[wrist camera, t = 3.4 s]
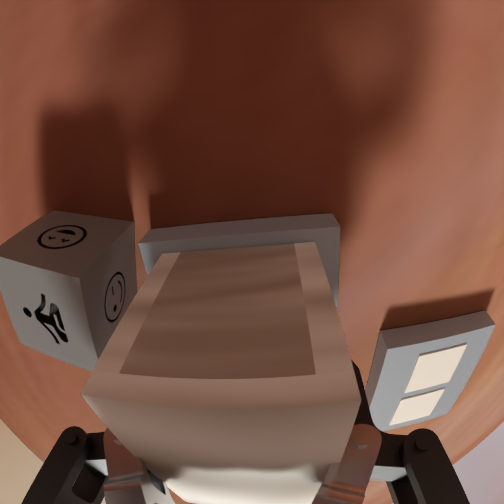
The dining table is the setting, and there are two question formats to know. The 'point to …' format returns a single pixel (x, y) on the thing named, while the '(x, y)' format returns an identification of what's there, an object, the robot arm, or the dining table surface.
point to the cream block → (231, 375)
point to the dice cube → (69, 283)
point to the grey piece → (250, 239)
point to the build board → (424, 368)
